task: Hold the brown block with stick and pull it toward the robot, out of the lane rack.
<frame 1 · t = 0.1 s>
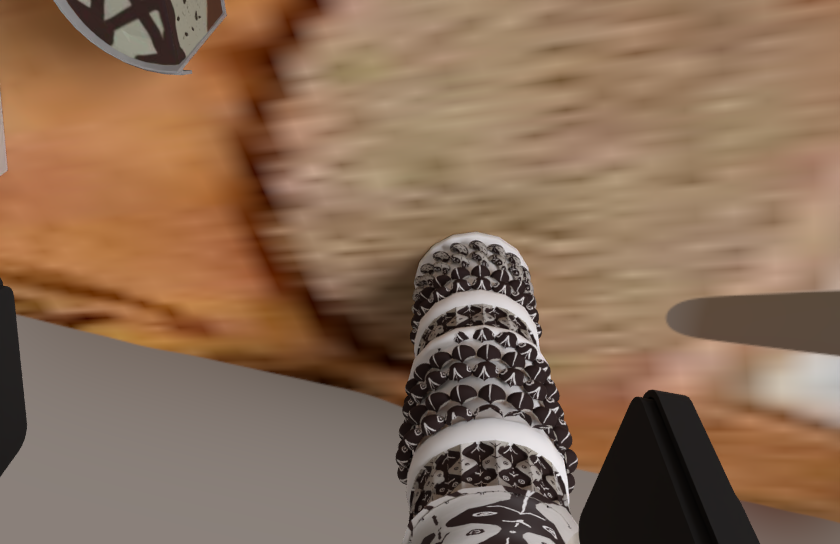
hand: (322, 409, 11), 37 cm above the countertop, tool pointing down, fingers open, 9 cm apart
decorative candle: (472, 281, 52), on the countertop
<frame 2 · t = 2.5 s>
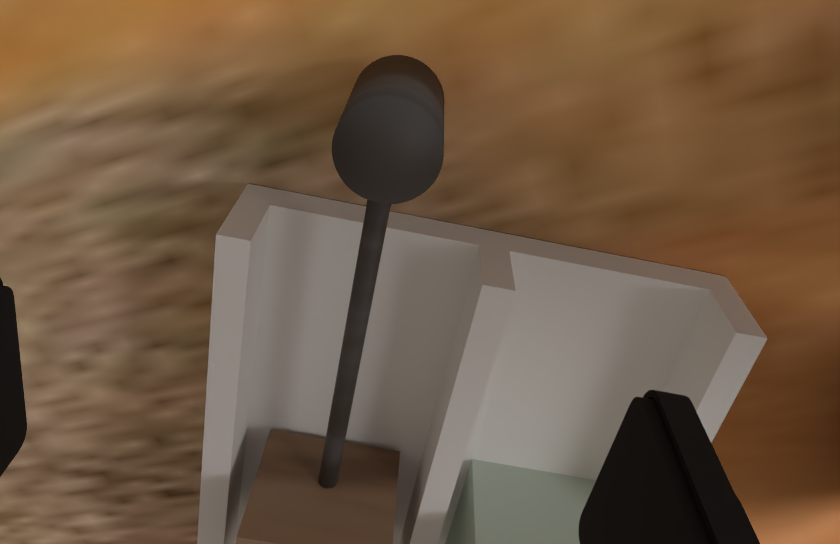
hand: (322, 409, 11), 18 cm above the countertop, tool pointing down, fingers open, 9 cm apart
brown block with stick: (345, 383, 27), point 5 cm above the countertop, slide at 0.0 cm
sage block: (517, 513, 35), point 1 cm above the countertop, touching lane rack
lane rack: (436, 430, 35), on the countertop
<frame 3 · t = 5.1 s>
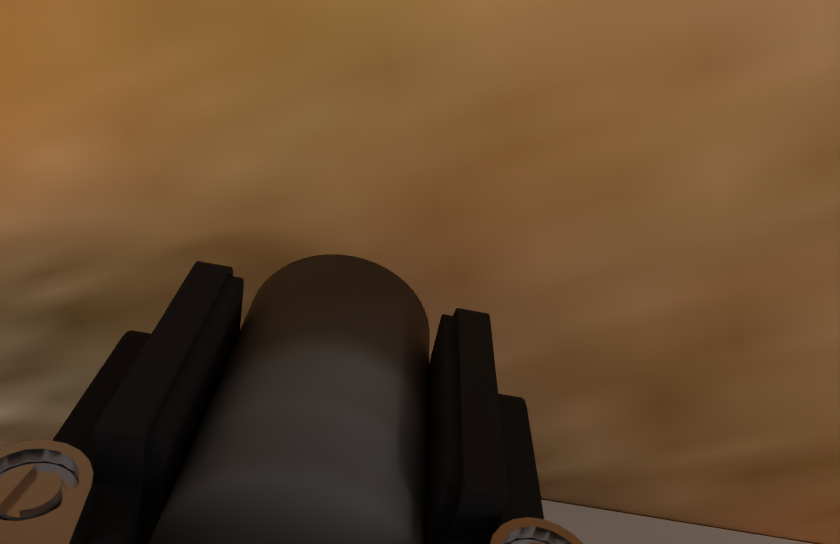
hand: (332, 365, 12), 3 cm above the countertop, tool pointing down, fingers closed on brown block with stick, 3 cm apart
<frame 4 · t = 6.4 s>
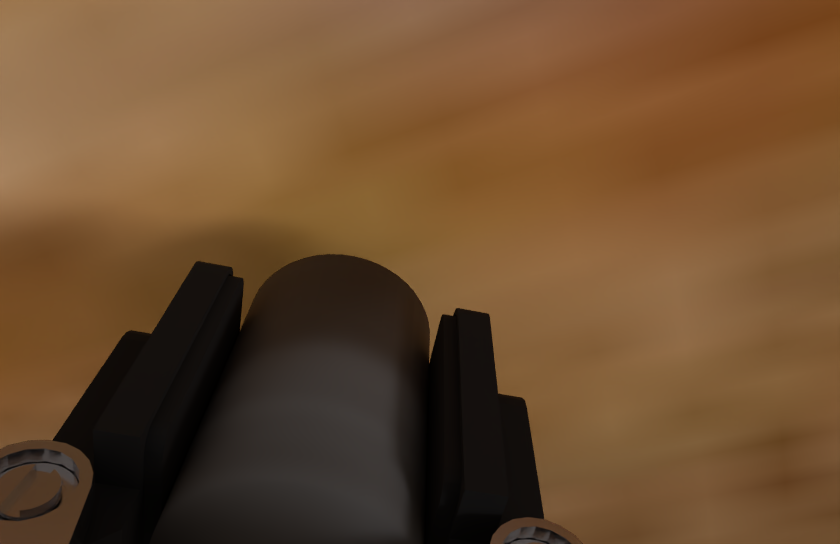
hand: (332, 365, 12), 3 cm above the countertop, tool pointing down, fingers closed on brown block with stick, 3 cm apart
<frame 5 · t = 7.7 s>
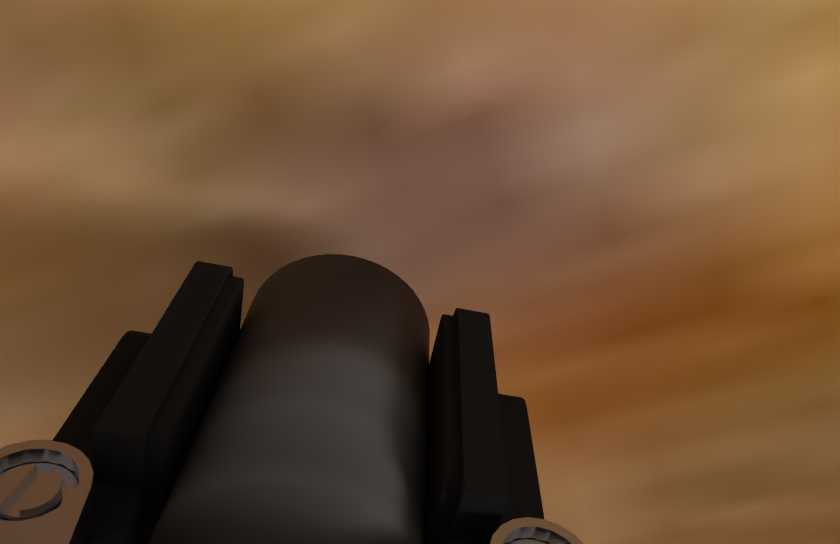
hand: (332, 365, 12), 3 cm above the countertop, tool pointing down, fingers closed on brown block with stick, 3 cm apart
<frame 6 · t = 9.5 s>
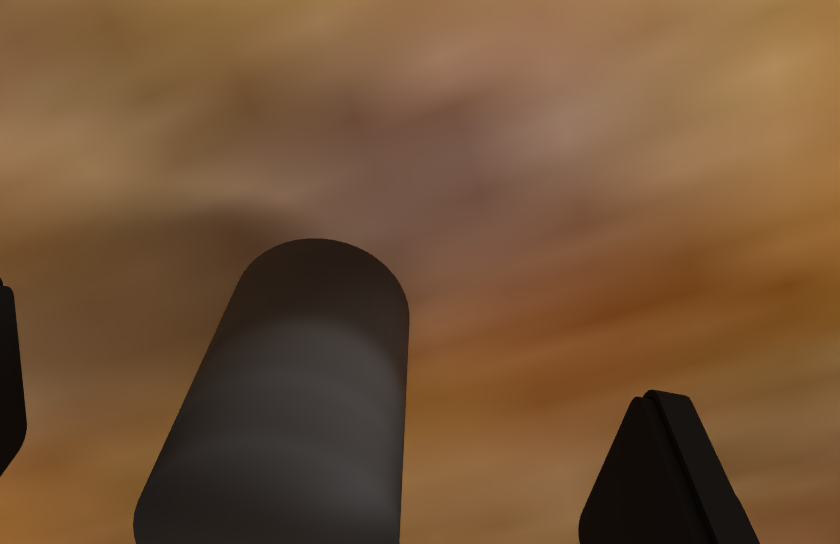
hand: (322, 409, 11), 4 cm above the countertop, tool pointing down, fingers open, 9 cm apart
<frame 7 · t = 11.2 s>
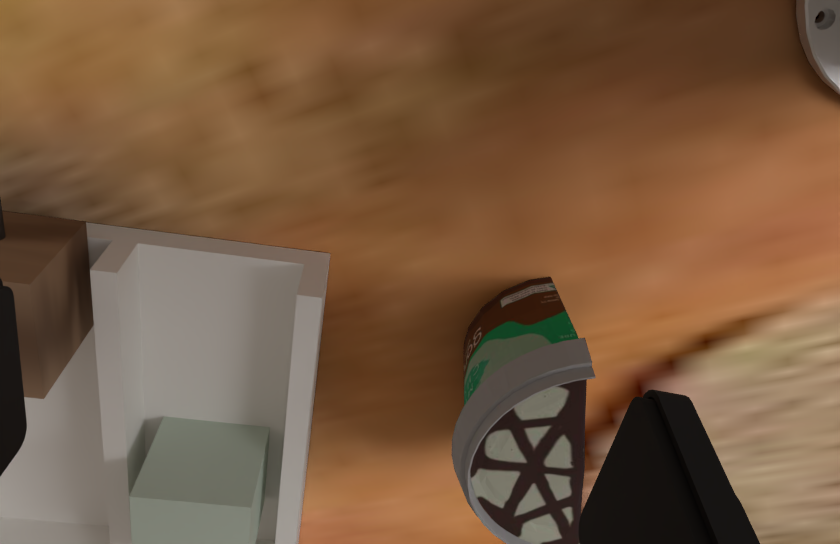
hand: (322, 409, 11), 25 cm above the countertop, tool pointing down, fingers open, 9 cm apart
sage block: (216, 460, 42), point 1 cm above the countertop, touching lane rack
food container: (495, 349, 41), on the countertop
lane rack: (141, 396, 42), on the countertop
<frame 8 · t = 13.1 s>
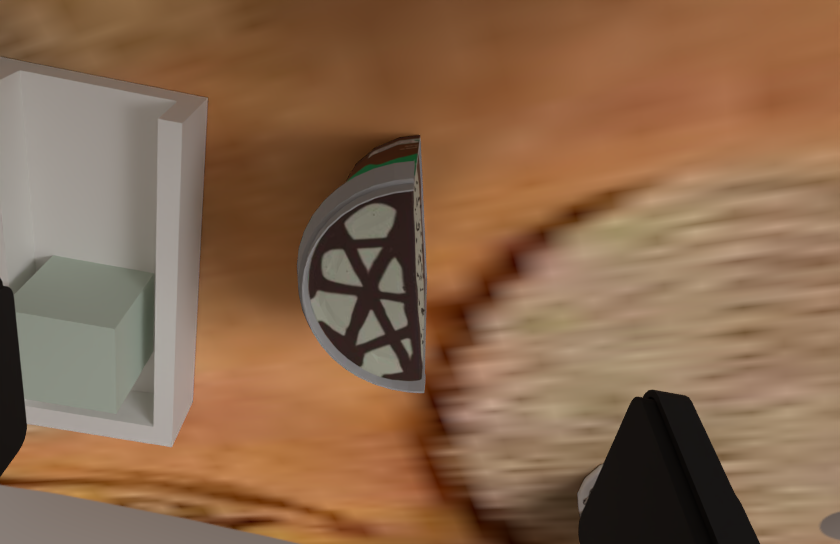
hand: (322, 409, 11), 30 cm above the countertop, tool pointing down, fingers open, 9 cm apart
sage block: (105, 305, 45), point 1 cm above the countertop, touching lane rack
food container: (372, 210, 43), on the countertop
decorative candle: (633, 493, 54), on the countertop
lane rack: (36, 238, 44), on the countertop
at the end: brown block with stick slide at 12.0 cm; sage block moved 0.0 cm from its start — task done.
